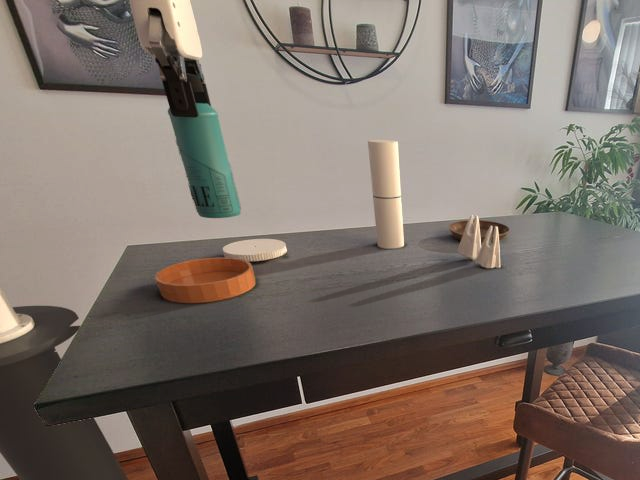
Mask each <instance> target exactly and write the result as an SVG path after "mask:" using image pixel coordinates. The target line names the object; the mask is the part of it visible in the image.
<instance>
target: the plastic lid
mask: <svg viewBox="0 0 640 480" xmlns="http://www.w3.org/2000/svg"><path fill="white" fill-rule="evenodd" d="M221 249H222V254H223V256H224V257H223V258H236V259H242V260H245V261H248V262H260V261H267V260H272V259H276V258H279V257H281V256H283V255H285V254H286V253H287V251H288V250H287V244H286V242H284V241H282V240H280V239H274V238H273V239H272V238H251V239H243V240H238V241H234V242H231V243H228V244H226V245H224V246H223V247H222V248H221Z"/></svg>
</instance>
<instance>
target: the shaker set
mask: <svg viewBox="0 0 640 480" xmlns="http://www.w3.org/2000/svg"><path fill="white" fill-rule="evenodd" d="M467 220H468V223H467V225H466V228H465V231H464V233H463V236H462V239H461V241H460V242H459V244H458V248H457V253H458V254H459V255H461V256H463V257H465V258H467V259H469V260H472V261H475V262H474V263H476V264H478V265H480V267H483V268H485V269H494V268H496V269H500V268H501V251H500V249H501V248H500V241H499V234H498V227H497V226H495V229H494V236H493V243H491V238H492V229H493V228H492V226H490V228H489V230H488V232H487V234H486V236H485V239H484V241H483V243H482V244H481V238H480V227H479V220H480V219H479V216H478V214H475V215H473V214H470V216H469V218H468V219H467ZM473 220H475V222H474V224H473Z"/></svg>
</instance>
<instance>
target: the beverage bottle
mask: <svg viewBox="0 0 640 480" xmlns="http://www.w3.org/2000/svg"><path fill="white" fill-rule="evenodd" d="M186 77H187V82H191V86H192V90H193V92H204V89H203V86H202V84H201V80H200V77H199V76H198V75H193V74H188V73H186ZM196 106H197V110H198V114H199V116H198V117H175V116H173V115H172V114H171V111H170V107H168V109H167V114H168V116H169V119H170V122H171V125H172V129H173V132H174V137H175V144H176V146H177V149H178V154H179V156H180V160H181V161H182V164H183V168H184V172H185V177H186V178H187V182H188V184H187V185H188V188H189V192H190V195H191V199H192V203H193V204H194V209H195V211H196V213H197V214H198V216H199V217H201V218H205V219H225V218H233V217H237V216H240V215H241V212H242V207H241V201H240V198H239V195H238V191H237V190H238V189H237V187H236V182H235V178H234V174H233V170H232V169H233V167H232V166H231V163H230V162H229V157H228V153H227V149H226V144H225V141H224V136H223V133H222V128H221V124H220V120H219V113H218V111H217V110H216V109H215V108H214V107H212V105H211V106H210V105H208V104H207V103H196Z"/></svg>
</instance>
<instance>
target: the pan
mask: <svg viewBox="0 0 640 480" xmlns="http://www.w3.org/2000/svg"><path fill="white" fill-rule="evenodd" d="M154 281H155V284H156V286H157V289H158V291H159V293H160V296H161V297H162V298H163V299H165V300H167V301H169V302H173V303H174V302H175V303H178V304H179V303H181V304H201V303H211V302H219V301H223V300H227V299H231V298H234V297H237V296H240V295H242V294H245V293H247V292H248V291H250V290H252V289H253V288H254V287H255V285H256V283H257V282H256V277H255V272H254V269H253V265H252V263H251V262H250V261H245V260H242V259H236V258H225V257H205V258H196V259H191V260H186V261H182V262H176V263H174V264H171V265H168V266H166V267H164V268H161V269H159V270H158V271H157V272H156V273H155V274H154Z"/></svg>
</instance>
